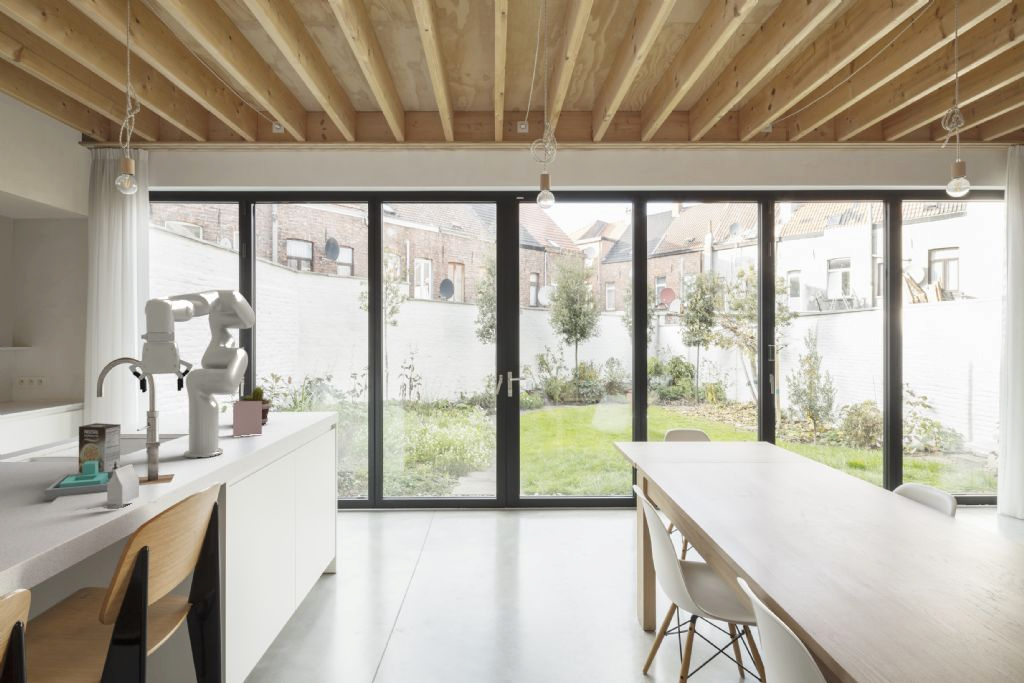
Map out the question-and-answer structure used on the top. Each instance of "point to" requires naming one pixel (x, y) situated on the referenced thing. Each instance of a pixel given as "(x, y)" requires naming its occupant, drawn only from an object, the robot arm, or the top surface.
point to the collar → (86, 476)
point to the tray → (74, 488)
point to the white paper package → (122, 487)
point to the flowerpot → (259, 396)
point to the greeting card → (247, 418)
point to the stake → (154, 467)
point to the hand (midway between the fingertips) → (162, 391)
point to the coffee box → (100, 446)
